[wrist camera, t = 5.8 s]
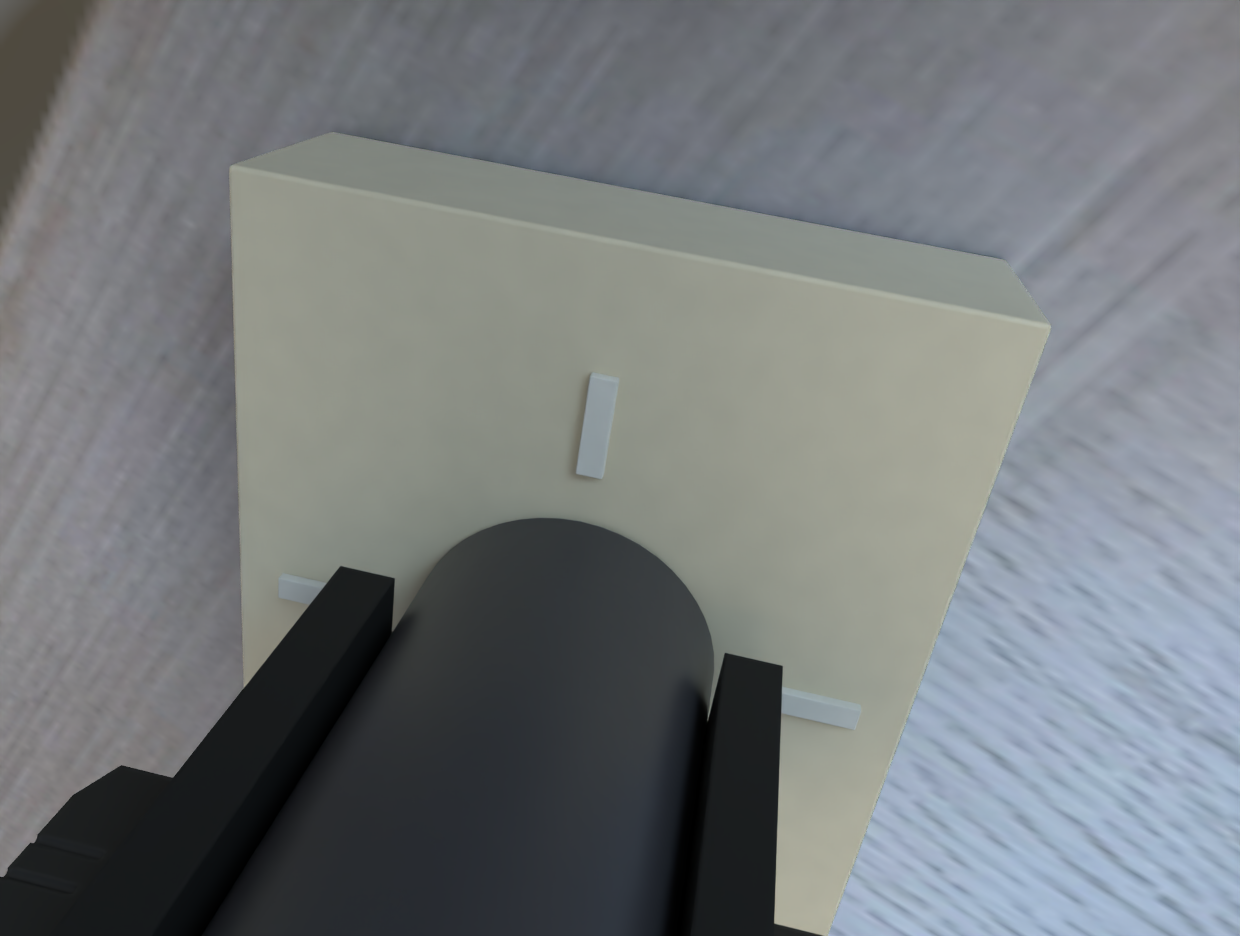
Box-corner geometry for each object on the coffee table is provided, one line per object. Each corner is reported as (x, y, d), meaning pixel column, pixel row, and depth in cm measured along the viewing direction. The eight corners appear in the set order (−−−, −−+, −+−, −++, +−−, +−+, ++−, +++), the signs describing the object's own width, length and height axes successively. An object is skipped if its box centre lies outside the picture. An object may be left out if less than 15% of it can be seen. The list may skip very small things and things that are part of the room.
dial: (409, 730, 16) (62, 1390, 8) (425, 485, 14) (-17, 1074, 6) (685, 794, 15) (574, 1544, 8) (743, 552, 13) (663, 1259, 6)
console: (329, 130, 15) (219, 165, 12) (1008, 259, 14) (1057, 329, 11) (319, 739, 20) (242, 860, 18) (807, 856, 20) (807, 1003, 17)
